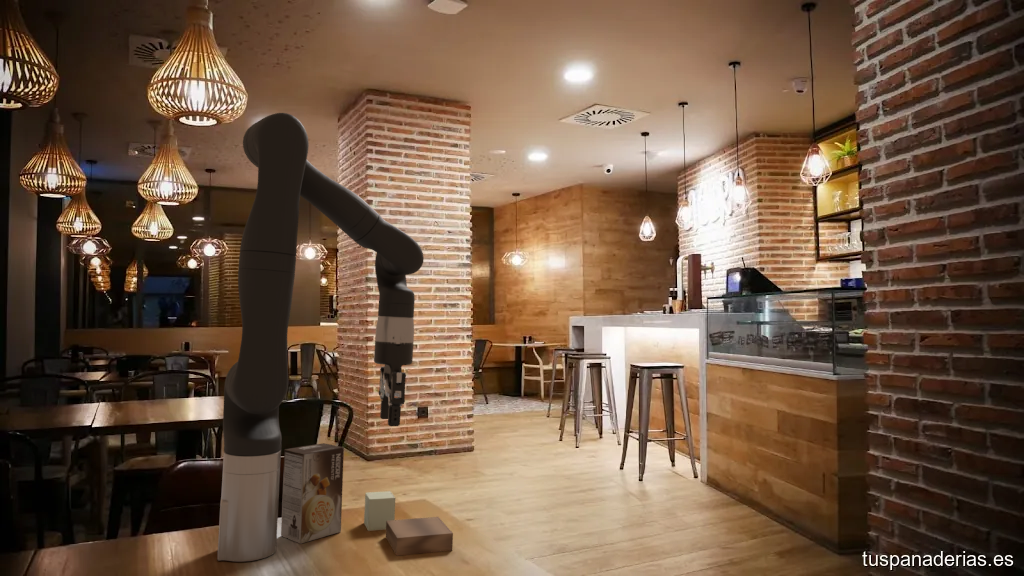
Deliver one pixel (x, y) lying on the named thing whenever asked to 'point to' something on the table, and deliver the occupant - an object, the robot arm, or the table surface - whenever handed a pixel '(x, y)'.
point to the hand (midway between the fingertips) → (389, 422)
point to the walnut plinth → (418, 535)
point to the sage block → (378, 509)
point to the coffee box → (312, 492)
